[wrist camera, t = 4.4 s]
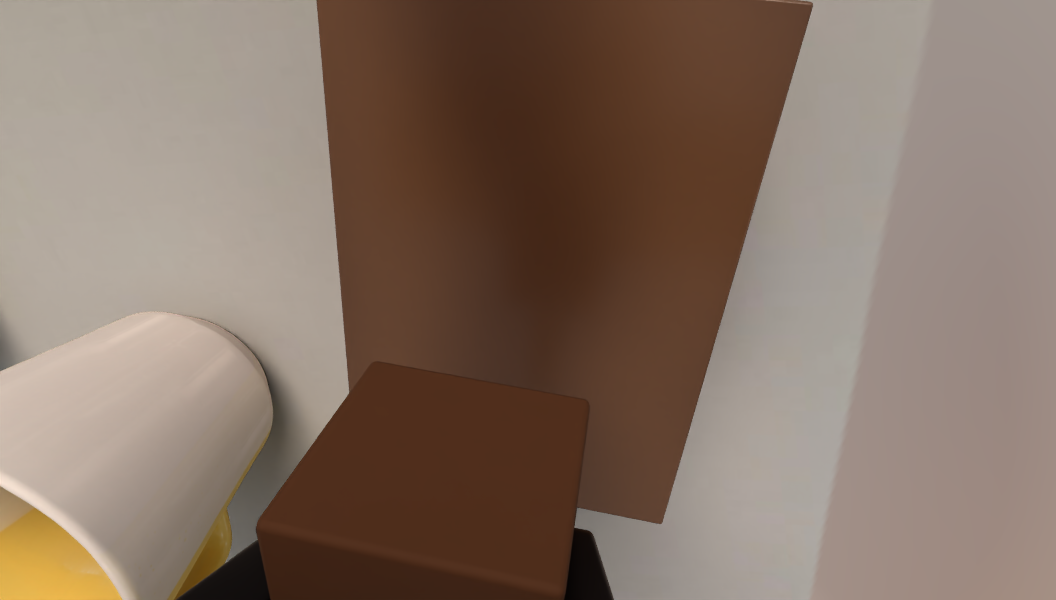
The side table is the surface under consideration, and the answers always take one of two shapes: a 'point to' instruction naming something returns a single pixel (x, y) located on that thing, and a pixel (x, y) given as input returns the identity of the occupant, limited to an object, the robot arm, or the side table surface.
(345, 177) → the stand
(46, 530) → the mug
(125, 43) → the side table surface
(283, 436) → the side table surface
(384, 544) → the chocolate ice cream bar
